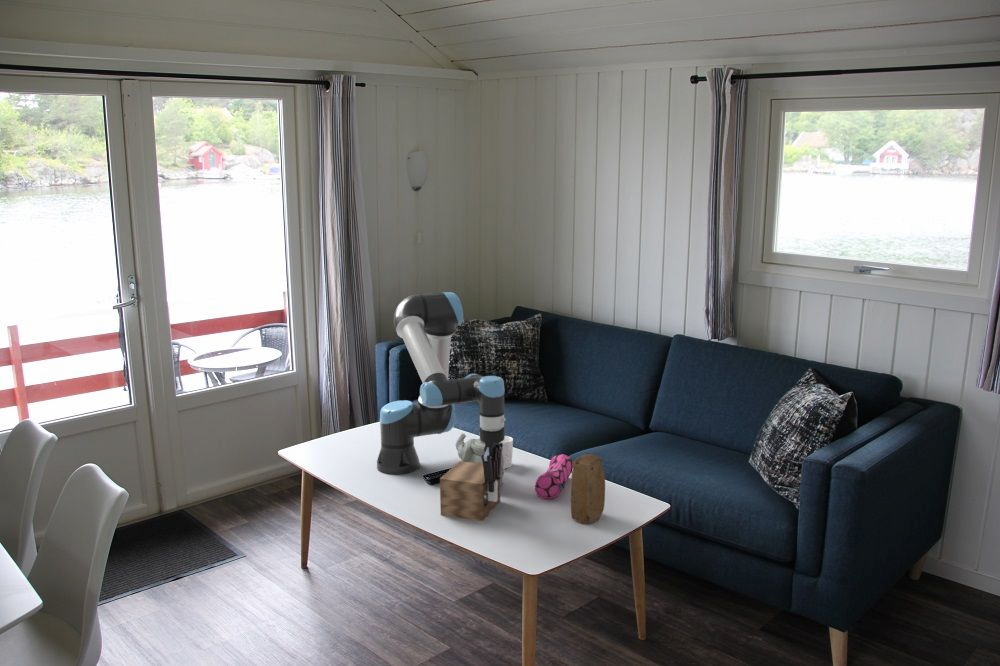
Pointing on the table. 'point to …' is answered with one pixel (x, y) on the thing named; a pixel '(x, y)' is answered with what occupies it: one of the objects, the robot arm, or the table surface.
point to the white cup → (507, 451)
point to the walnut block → (465, 492)
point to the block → (587, 489)
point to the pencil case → (554, 477)
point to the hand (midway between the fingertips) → (492, 500)
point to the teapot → (474, 452)
